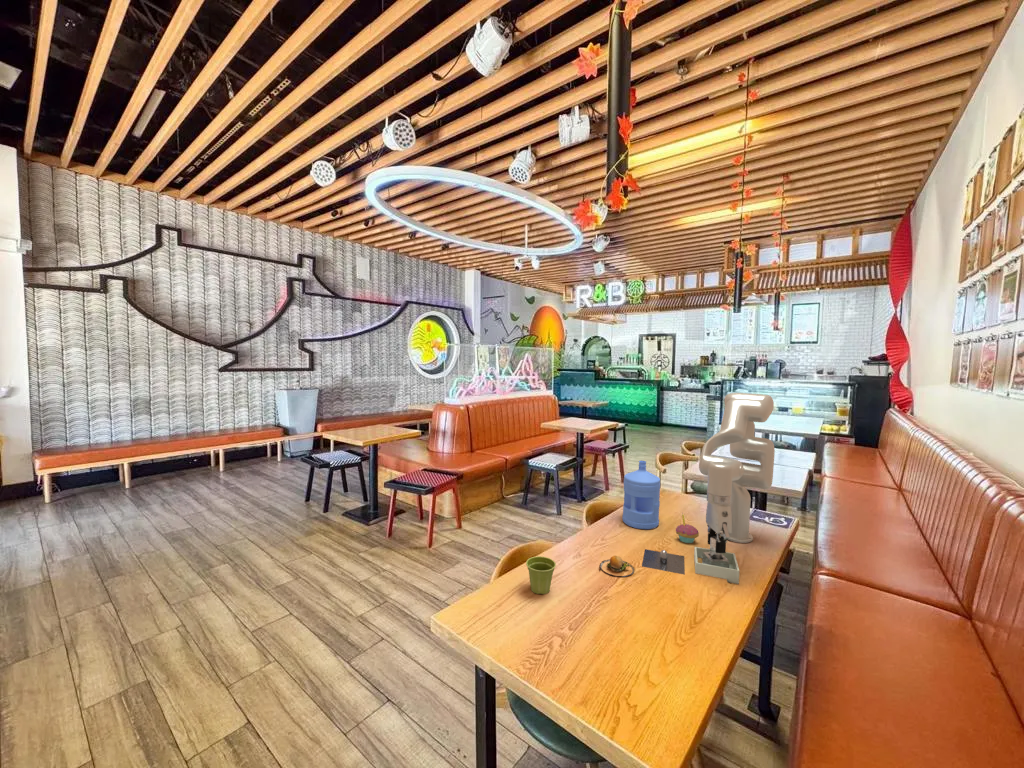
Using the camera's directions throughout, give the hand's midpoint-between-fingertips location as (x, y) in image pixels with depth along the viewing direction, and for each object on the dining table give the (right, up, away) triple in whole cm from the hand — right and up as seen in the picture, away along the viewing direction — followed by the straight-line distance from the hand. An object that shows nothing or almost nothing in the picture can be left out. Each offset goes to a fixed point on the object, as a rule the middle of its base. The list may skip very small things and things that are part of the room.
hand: (716, 547), depth 146 cm
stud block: (-17, -8, +5) cm, 19 cm away
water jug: (-14, -5, +42) cm, 44 cm away
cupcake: (-1, -7, +23) cm, 24 cm away
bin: (0, -8, +1) cm, 8 cm away
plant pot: (-62, -9, -12) cm, 64 cm away
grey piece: (0, -8, +1) cm, 8 cm away
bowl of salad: (-35, -8, 0) cm, 36 cm away
